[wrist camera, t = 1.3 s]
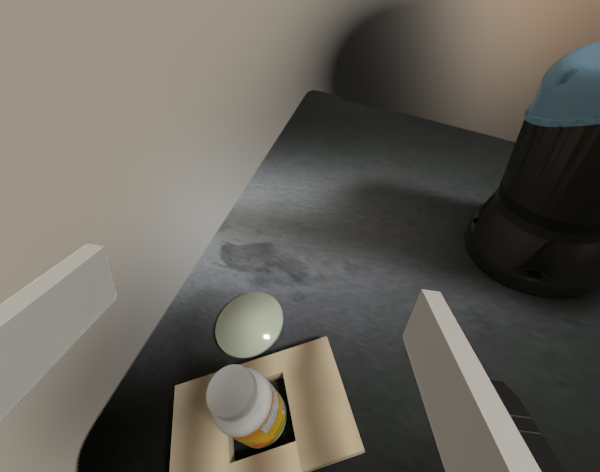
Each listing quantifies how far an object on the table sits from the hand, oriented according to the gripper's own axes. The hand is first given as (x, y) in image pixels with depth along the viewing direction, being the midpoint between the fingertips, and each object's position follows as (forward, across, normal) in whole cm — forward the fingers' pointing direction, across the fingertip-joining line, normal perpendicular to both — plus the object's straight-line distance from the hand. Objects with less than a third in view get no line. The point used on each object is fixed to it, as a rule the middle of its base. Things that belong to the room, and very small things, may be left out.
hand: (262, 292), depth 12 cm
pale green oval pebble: (+18, -4, -21) cm, 27 cm away
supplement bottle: (+8, 0, -23) cm, 25 cm away
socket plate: (+8, 0, -23) cm, 24 cm away
